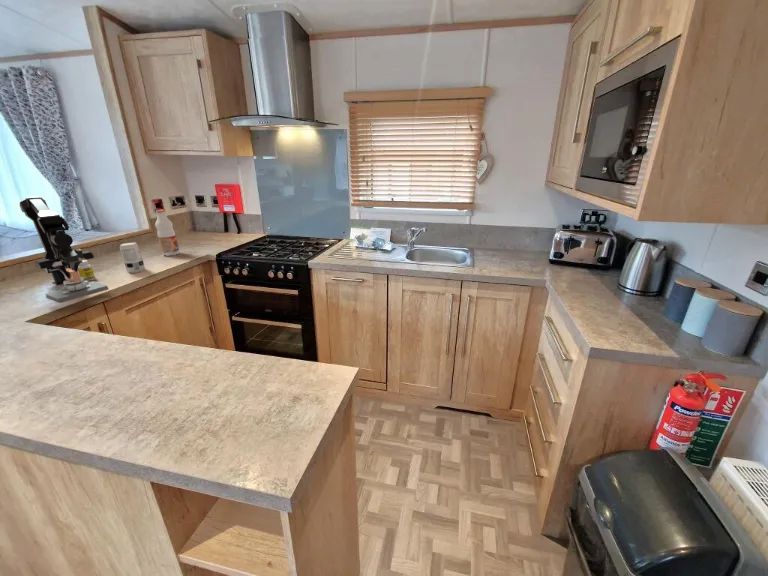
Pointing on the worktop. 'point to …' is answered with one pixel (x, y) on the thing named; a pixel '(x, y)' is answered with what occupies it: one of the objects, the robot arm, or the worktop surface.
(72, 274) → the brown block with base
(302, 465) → the worktop surface
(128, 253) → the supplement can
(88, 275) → the supplement bottle
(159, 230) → the fruit juice
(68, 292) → the post plate
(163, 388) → the worktop surface
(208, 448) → the worktop surface
